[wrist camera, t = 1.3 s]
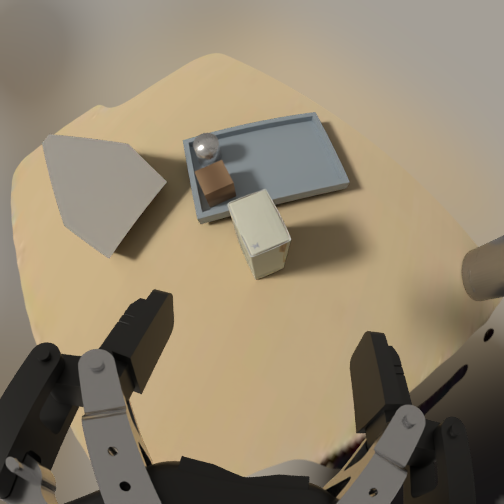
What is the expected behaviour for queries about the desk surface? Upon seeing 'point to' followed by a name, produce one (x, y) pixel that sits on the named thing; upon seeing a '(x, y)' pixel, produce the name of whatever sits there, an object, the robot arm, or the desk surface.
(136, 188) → the slotted wedge
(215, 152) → the chrome dome knob
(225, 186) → the walnut block
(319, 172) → the blue-grey serving tray
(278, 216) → the skincare box
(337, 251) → the desk surface
